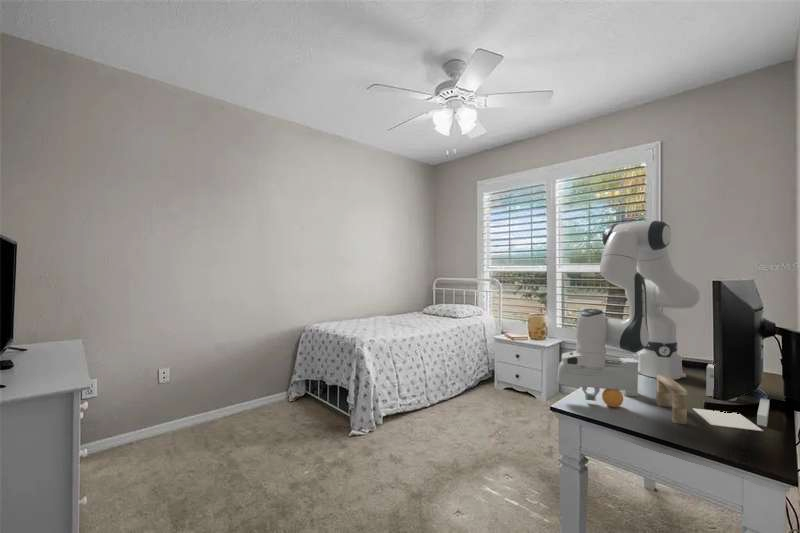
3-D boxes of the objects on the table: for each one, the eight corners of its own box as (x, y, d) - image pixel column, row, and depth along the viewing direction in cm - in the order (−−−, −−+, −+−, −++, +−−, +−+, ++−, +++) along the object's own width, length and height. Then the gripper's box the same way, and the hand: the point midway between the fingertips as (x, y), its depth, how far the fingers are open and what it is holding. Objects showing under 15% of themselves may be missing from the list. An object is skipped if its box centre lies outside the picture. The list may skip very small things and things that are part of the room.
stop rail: (760, 407, 119) (760, 398, 119) (769, 409, 117) (769, 399, 117) (756, 424, 106) (757, 414, 106) (766, 426, 105) (766, 416, 105)
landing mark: (692, 408, 117) (692, 408, 117) (739, 413, 114) (739, 413, 114) (711, 425, 106) (711, 424, 106) (763, 431, 102) (763, 430, 102)
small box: (738, 398, 126) (738, 368, 126) (736, 402, 122) (737, 371, 122) (707, 392, 132) (708, 363, 132) (705, 396, 128) (706, 366, 128)
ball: (600, 401, 123) (600, 384, 123) (620, 404, 121) (620, 386, 121) (604, 408, 117) (604, 390, 117) (625, 411, 116) (625, 392, 115)
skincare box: (638, 396, 128) (638, 362, 127) (624, 395, 128) (625, 362, 128) (630, 390, 134) (631, 358, 133) (617, 389, 134) (618, 357, 134)
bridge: (674, 422, 108) (674, 389, 107) (656, 403, 122) (656, 374, 122) (686, 424, 107) (687, 391, 106) (667, 404, 121) (667, 375, 121)
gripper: (624, 358, 121) (623, 400, 121) (557, 353, 128) (556, 392, 128) (629, 364, 115) (628, 407, 115) (558, 358, 122) (558, 399, 122)
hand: (590, 399), depth 122 cm, fingers closed
